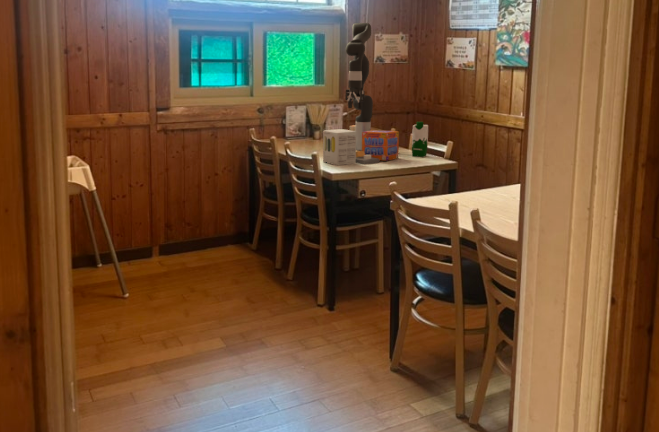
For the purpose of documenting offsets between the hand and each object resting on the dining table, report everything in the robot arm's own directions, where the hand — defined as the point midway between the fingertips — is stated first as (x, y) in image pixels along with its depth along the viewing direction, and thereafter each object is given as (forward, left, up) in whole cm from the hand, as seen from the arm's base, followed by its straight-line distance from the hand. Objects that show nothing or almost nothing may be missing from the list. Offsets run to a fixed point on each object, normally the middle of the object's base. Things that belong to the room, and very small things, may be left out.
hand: (354, 108), depth 402 cm
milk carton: (-35, +18, -28) cm, 48 cm away
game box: (-9, +13, -28) cm, 32 cm away
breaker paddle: (+6, +13, -26) cm, 29 cm away
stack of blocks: (-39, -34, -28) cm, 59 cm away
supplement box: (+19, +10, -28) cm, 35 cm away
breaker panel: (+6, +13, -28) cm, 31 cm away
